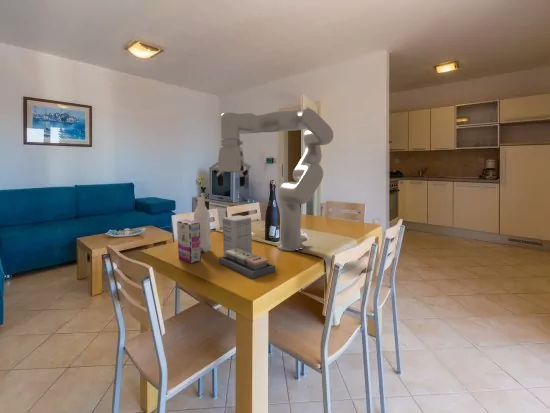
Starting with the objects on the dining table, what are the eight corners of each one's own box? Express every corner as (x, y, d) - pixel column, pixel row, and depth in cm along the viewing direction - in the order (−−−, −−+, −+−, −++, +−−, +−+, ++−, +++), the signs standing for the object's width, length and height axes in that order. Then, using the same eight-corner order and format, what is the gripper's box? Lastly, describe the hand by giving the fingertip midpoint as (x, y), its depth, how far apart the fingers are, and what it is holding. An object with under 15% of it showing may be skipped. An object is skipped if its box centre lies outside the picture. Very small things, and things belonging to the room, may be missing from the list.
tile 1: (237, 254, 127) (237, 247, 127) (246, 257, 123) (246, 250, 122) (225, 257, 123) (225, 250, 123) (233, 260, 119) (233, 253, 118)
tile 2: (247, 258, 122) (247, 251, 122) (256, 261, 118) (256, 254, 117) (235, 261, 118) (235, 254, 118) (244, 265, 114) (244, 257, 113)
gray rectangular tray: (240, 257, 130) (240, 252, 130) (275, 271, 113) (275, 265, 113) (219, 263, 123) (219, 257, 123) (252, 279, 106) (252, 272, 106)
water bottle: (207, 253, 136) (205, 198, 132) (192, 253, 137) (189, 198, 134) (213, 249, 143) (211, 196, 139) (199, 248, 144) (197, 196, 141)
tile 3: (258, 262, 117) (258, 255, 116) (268, 266, 112) (268, 258, 112) (245, 265, 113) (245, 258, 113) (255, 269, 108) (255, 262, 108)
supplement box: (240, 250, 141) (239, 214, 139) (252, 254, 135) (252, 217, 132) (222, 254, 135) (221, 217, 132) (235, 259, 128) (234, 220, 126)
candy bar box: (201, 261, 126) (200, 222, 124) (191, 264, 123) (189, 224, 120) (188, 255, 134) (186, 219, 132) (178, 257, 130) (176, 220, 128)
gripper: (253, 144, 125) (253, 185, 127) (215, 145, 130) (216, 185, 132) (246, 143, 118) (247, 187, 120) (207, 144, 123) (208, 186, 125)
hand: (231, 186), depth 126 cm, fingers open, 9 cm apart
